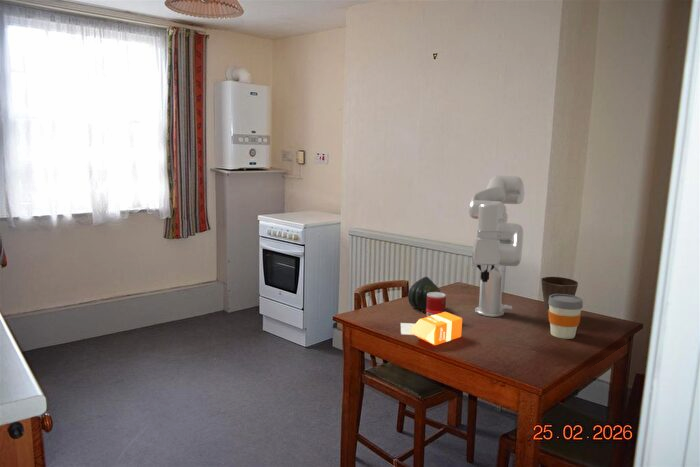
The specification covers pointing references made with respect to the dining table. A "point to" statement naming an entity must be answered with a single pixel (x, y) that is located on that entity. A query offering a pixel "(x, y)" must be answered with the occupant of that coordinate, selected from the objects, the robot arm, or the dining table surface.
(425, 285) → the squash
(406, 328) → the mat
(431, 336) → the orange juice
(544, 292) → the plant pot
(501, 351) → the dining table surface
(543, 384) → the dining table surface
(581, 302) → the reusable coffee cup
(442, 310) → the canned food
